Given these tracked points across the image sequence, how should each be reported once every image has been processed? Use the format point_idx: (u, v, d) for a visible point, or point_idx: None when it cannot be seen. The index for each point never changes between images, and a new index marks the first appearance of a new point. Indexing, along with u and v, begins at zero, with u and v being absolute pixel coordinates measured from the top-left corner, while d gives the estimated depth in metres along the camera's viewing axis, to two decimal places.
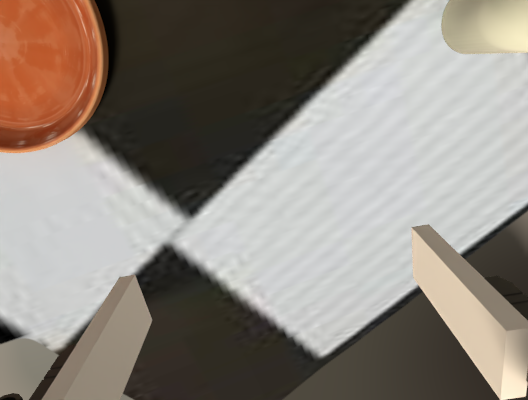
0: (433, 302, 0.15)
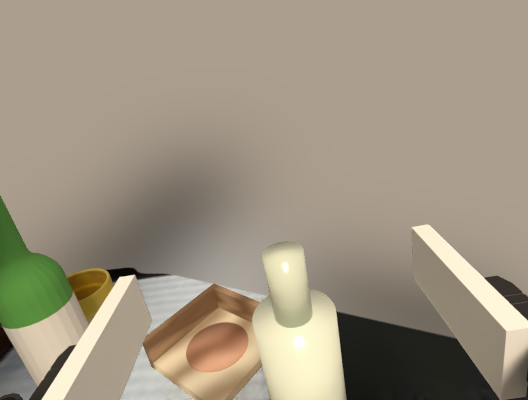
0: (433, 302, 0.15)
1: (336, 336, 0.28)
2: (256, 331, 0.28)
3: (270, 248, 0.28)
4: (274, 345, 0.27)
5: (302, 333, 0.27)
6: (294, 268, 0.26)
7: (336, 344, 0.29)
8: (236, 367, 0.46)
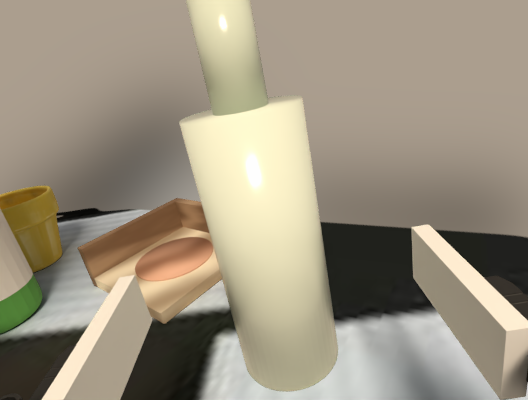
0: (433, 302, 0.15)
1: (303, 130, 0.19)
2: (182, 124, 0.19)
3: None
4: (203, 126, 0.17)
5: (248, 112, 0.18)
6: None
7: (303, 144, 0.19)
8: (194, 274, 0.37)
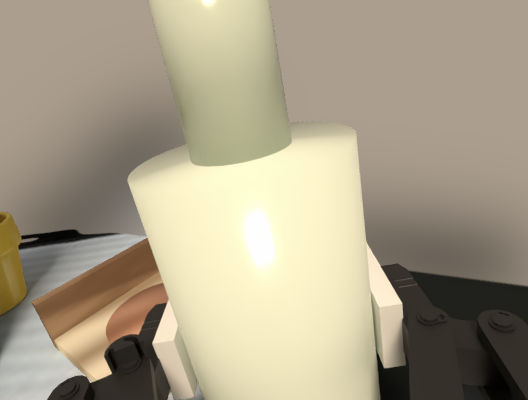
0: None
1: (358, 195, 0.10)
2: (131, 182, 0.10)
3: None
4: (163, 197, 0.08)
5: (257, 167, 0.09)
6: None
7: (358, 219, 0.10)
8: None
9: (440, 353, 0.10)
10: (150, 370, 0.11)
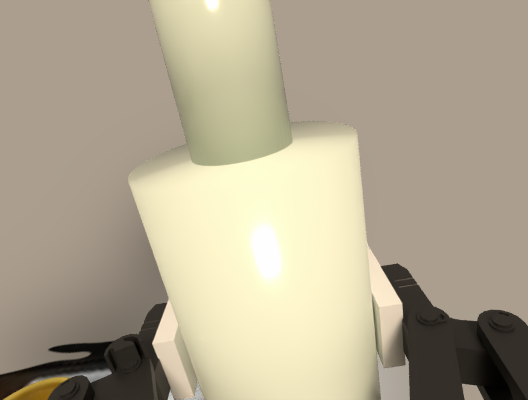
0: None
1: (359, 194, 0.10)
2: (131, 181, 0.10)
3: None
4: (164, 197, 0.08)
5: (258, 166, 0.09)
6: None
7: (359, 219, 0.10)
8: None
9: (440, 353, 0.10)
10: (150, 370, 0.11)
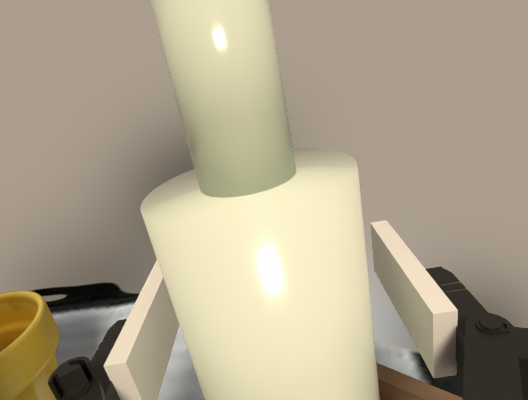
0: (388, 292, 0.16)
1: (359, 224, 0.11)
2: (144, 212, 0.11)
3: None
4: (176, 231, 0.09)
5: (264, 201, 0.09)
6: None
7: (360, 247, 0.11)
8: None
9: (500, 365, 0.09)
10: (100, 392, 0.11)
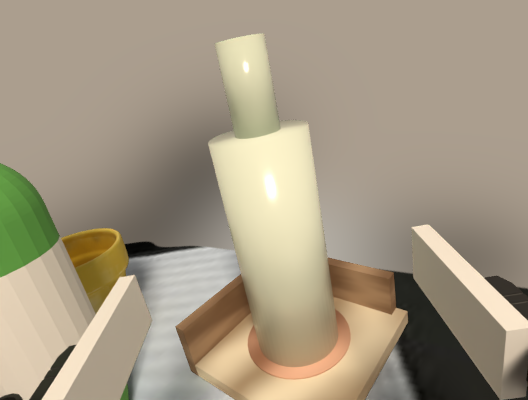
0: (434, 302, 0.15)
1: (308, 151, 0.23)
2: (211, 145, 0.23)
3: None
4: (229, 148, 0.22)
5: (265, 137, 0.22)
6: (252, 47, 0.21)
7: (309, 161, 0.24)
8: (342, 370, 0.27)
9: None
10: None
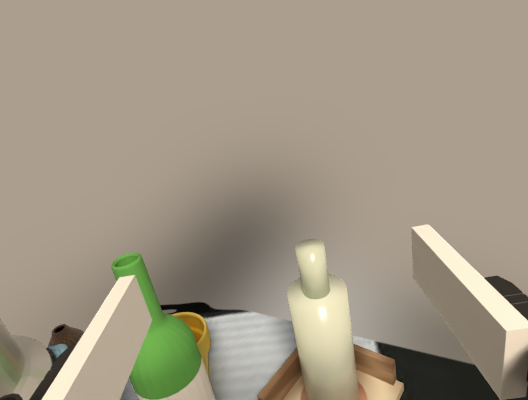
0: (433, 302, 0.15)
1: (347, 305, 0.41)
2: (291, 302, 0.40)
3: (300, 243, 0.40)
4: (304, 310, 0.39)
5: (324, 302, 0.39)
6: (318, 257, 0.38)
7: (347, 311, 0.41)
8: None
9: None
10: None
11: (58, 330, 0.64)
